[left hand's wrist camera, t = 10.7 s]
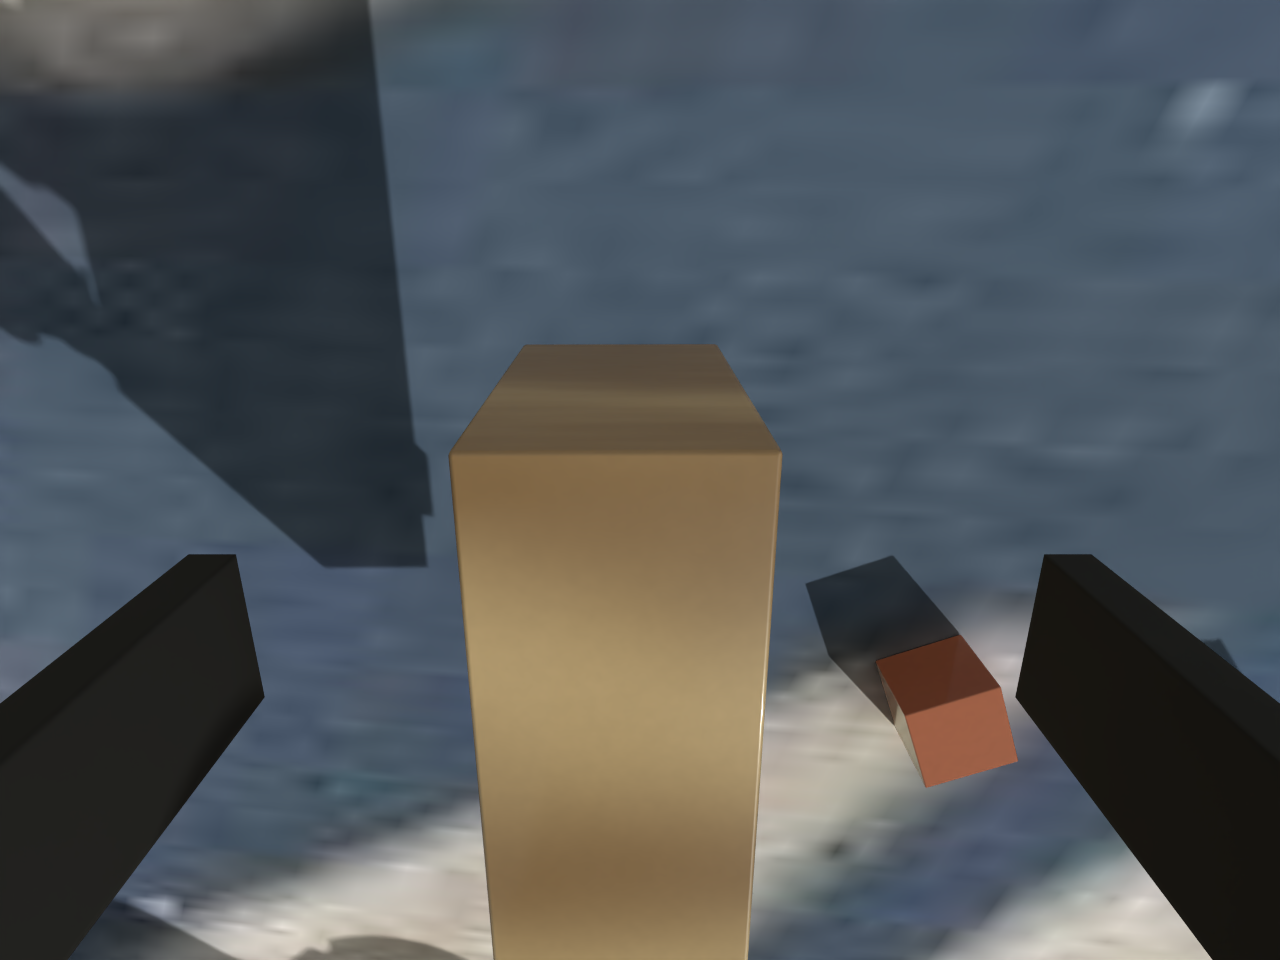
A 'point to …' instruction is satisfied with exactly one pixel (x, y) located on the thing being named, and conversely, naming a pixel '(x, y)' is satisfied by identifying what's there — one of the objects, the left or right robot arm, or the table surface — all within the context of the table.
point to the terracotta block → (947, 710)
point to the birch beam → (617, 648)
